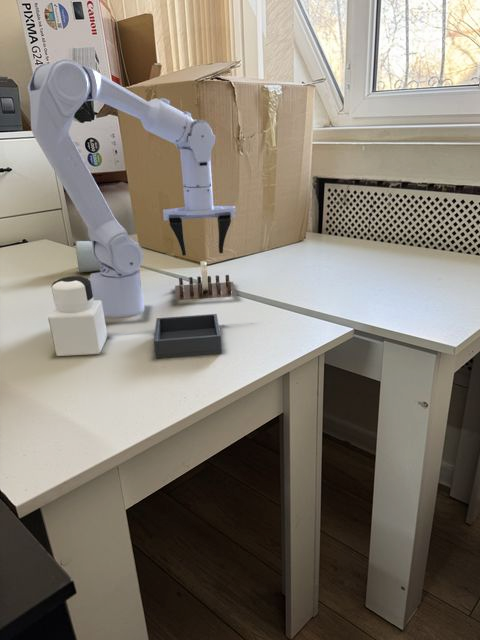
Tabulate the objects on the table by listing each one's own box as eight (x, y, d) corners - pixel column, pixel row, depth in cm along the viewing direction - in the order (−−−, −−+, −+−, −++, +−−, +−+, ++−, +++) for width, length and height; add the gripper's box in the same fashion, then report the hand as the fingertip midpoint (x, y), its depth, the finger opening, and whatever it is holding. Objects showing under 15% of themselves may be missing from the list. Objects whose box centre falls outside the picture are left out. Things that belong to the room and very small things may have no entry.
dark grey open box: (156, 358, 82) (153, 341, 81) (158, 334, 91) (156, 318, 90) (221, 353, 83) (220, 336, 82) (217, 329, 93) (216, 313, 91)
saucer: (203, 295, 107) (200, 266, 104) (201, 286, 113) (199, 258, 110) (208, 295, 107) (206, 265, 104) (207, 285, 113) (205, 257, 110)
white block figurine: (67, 339, 90) (53, 274, 85) (108, 337, 90) (97, 272, 85) (55, 357, 84) (40, 287, 78) (99, 354, 84) (87, 285, 79)
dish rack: (175, 304, 105) (173, 289, 104) (175, 289, 114) (174, 275, 113) (237, 300, 107) (236, 285, 105) (233, 286, 116) (232, 271, 114)
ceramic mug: (113, 272, 127) (109, 242, 123) (79, 275, 125) (74, 245, 121) (112, 262, 136) (107, 233, 132) (79, 265, 133) (74, 236, 130)
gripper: (232, 181, 105) (235, 246, 111) (161, 184, 103) (168, 250, 109) (235, 186, 99) (238, 254, 104) (160, 189, 97) (167, 259, 103)
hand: (202, 253), depth 106 cm, fingers open, 7 cm apart
